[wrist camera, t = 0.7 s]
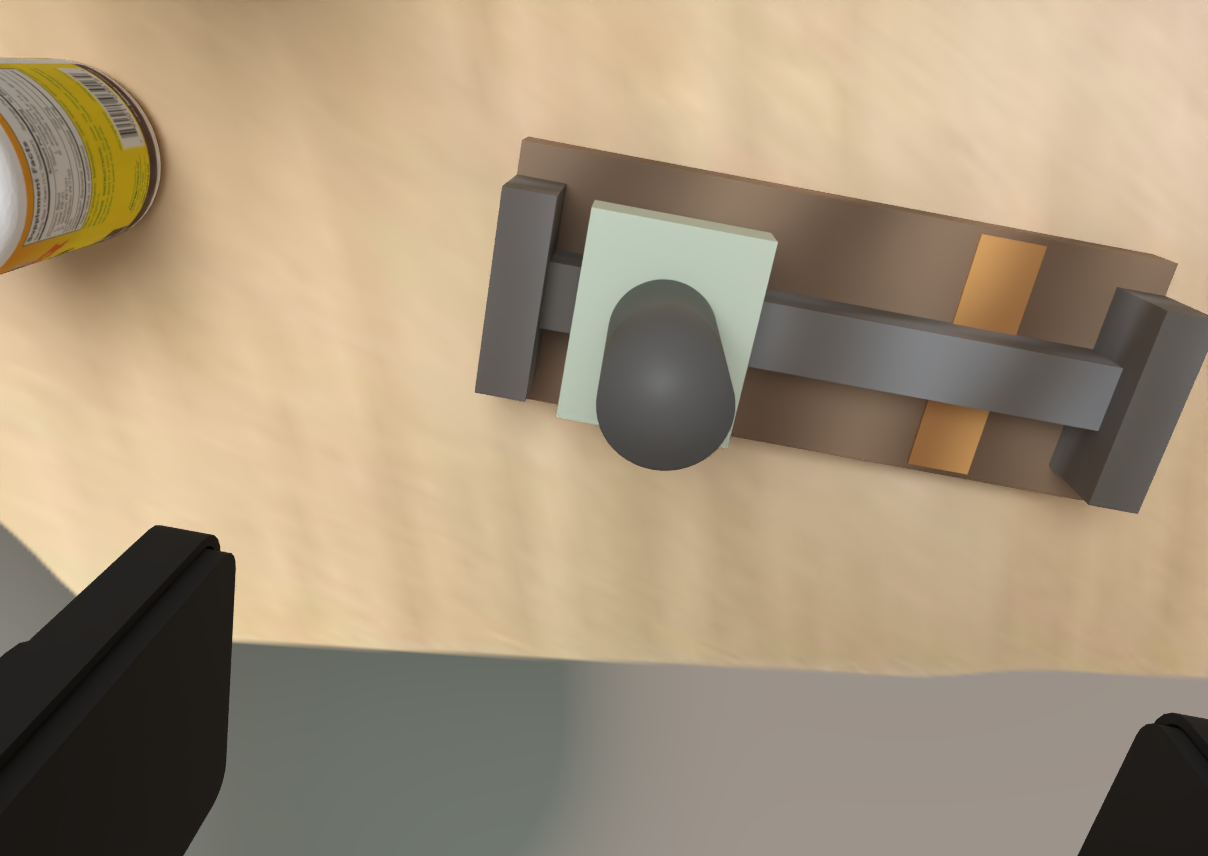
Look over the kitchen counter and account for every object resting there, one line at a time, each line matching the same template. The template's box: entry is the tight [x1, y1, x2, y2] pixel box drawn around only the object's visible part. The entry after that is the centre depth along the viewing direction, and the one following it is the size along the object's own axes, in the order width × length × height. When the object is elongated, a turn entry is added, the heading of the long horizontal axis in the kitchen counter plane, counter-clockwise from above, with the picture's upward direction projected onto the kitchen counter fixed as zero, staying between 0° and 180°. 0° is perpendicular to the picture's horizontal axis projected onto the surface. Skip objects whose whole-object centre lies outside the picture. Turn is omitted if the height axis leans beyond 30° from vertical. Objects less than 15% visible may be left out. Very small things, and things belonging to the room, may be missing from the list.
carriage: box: [556, 200, 778, 471], centre depth 25 cm, size 5×6×10 cm
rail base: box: [475, 137, 1208, 514], centre depth 29 cm, size 20×8×4 cm, turn 80°
